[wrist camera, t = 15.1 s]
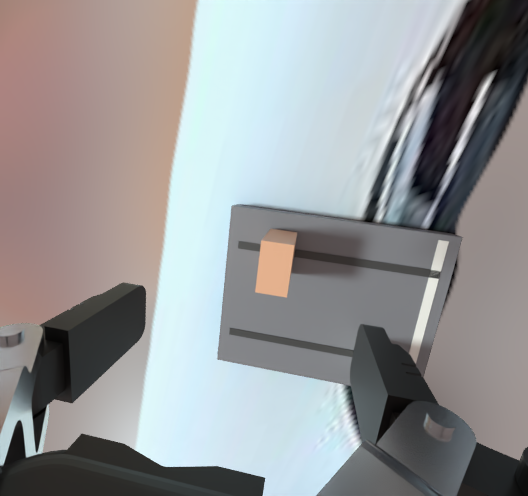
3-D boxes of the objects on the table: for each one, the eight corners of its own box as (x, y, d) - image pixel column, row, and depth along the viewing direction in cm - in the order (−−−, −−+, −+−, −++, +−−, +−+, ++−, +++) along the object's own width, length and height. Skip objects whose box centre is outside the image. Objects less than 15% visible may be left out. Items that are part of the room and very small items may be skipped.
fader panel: (222, 348, 33) (216, 359, 31) (236, 204, 29) (231, 206, 27) (410, 385, 31) (417, 399, 28) (451, 233, 27) (463, 237, 25)
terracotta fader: (265, 270, 28) (255, 292, 22) (270, 228, 27) (261, 240, 21) (290, 274, 27) (286, 297, 22) (297, 232, 26) (294, 245, 21)
